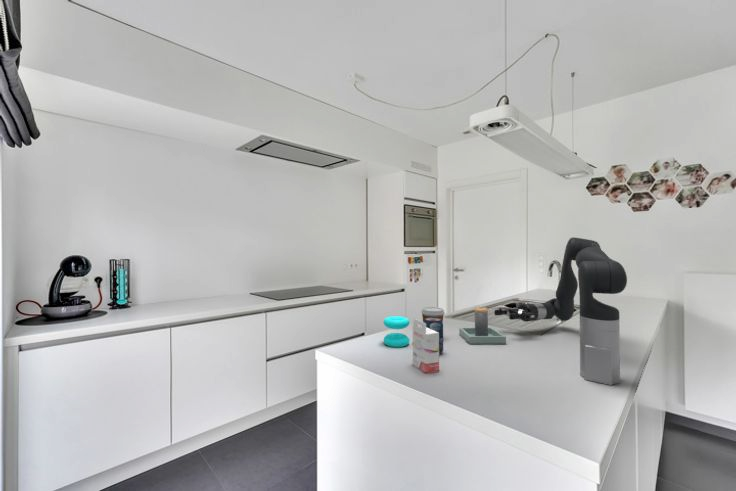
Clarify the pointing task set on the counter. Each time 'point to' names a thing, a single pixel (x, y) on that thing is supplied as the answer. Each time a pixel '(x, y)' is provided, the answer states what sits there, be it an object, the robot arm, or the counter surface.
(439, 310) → the disposable coffee cup
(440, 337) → the soda can
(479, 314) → the battery
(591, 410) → the counter surface
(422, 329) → the ink cartridge box
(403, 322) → the donuts
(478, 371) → the counter surface
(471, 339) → the bin
